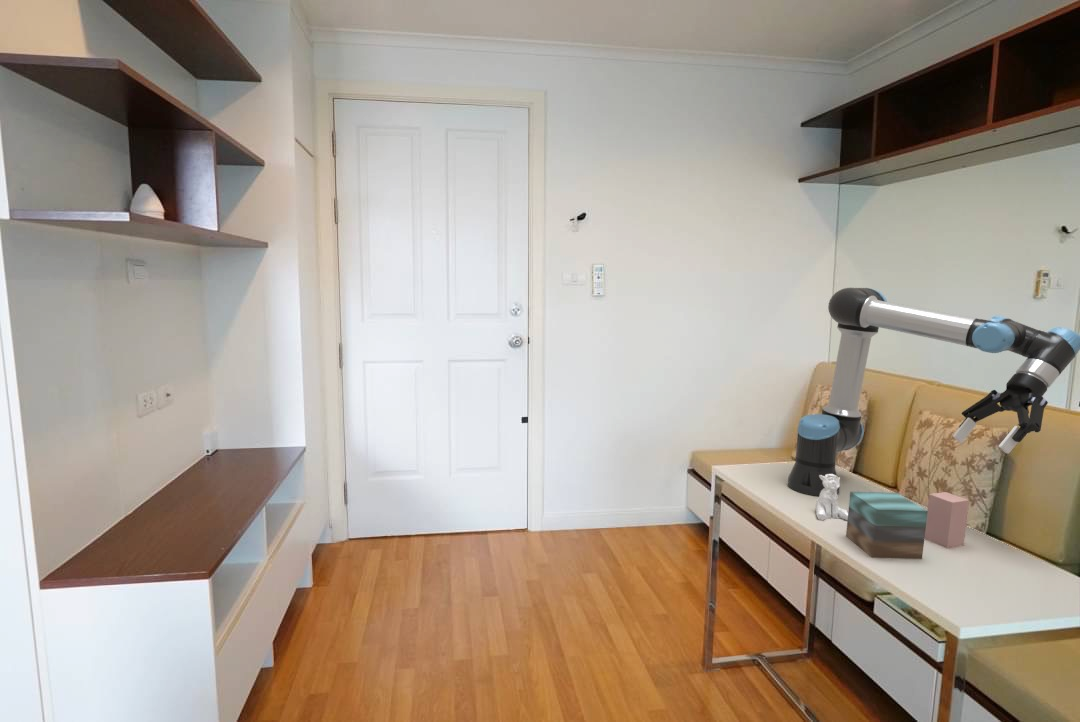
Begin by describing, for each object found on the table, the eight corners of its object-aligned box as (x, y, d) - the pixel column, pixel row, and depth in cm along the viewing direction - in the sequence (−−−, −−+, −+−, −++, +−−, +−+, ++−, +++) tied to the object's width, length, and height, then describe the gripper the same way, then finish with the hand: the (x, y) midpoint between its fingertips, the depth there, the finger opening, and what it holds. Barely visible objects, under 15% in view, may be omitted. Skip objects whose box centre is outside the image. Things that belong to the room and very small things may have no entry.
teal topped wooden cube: (846, 535, 149) (850, 491, 148) (892, 537, 149) (896, 492, 148) (871, 557, 138) (877, 509, 136) (922, 558, 137) (927, 510, 136)
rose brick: (924, 538, 149) (929, 494, 148) (940, 535, 151) (945, 491, 150) (946, 548, 143) (952, 502, 142) (963, 545, 145) (969, 500, 144)
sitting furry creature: (818, 520, 159) (822, 479, 157) (803, 508, 168) (807, 469, 166) (852, 521, 159) (856, 479, 158) (836, 509, 168) (839, 470, 166)
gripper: (1092, 395, 134) (1036, 465, 133) (997, 385, 159) (949, 444, 158) (1071, 375, 133) (1014, 444, 133) (979, 368, 158) (930, 427, 157)
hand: (978, 444), depth 145 cm, fingers open, 13 cm apart
